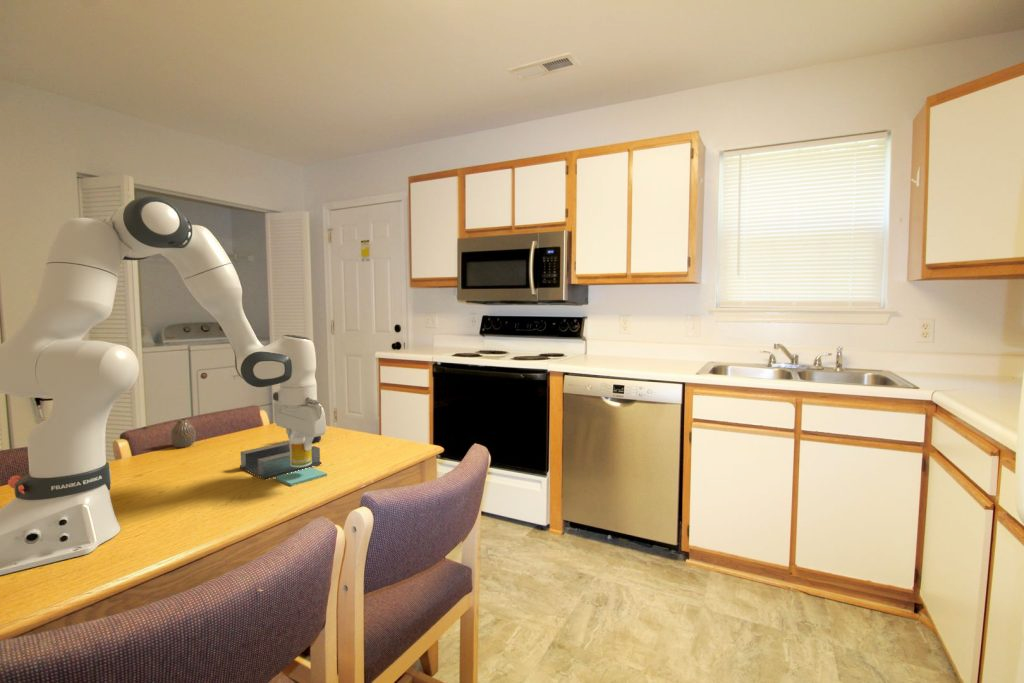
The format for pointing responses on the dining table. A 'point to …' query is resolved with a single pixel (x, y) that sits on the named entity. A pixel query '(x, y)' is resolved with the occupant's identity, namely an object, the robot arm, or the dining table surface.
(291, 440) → the supplement bottle
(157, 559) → the dining table surface
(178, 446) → the vase
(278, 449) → the slot housing
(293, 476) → the teal mat
